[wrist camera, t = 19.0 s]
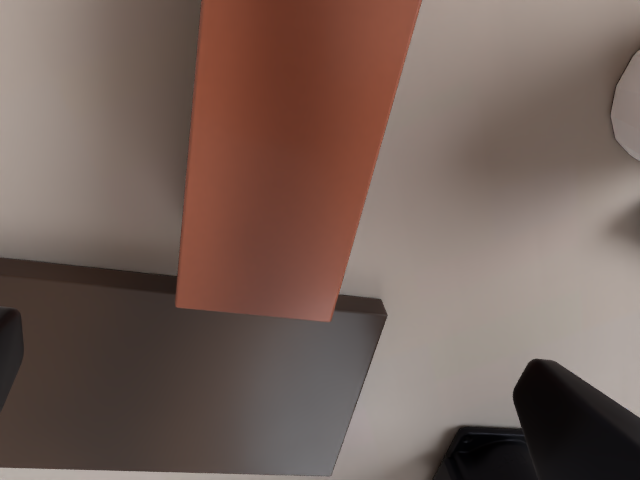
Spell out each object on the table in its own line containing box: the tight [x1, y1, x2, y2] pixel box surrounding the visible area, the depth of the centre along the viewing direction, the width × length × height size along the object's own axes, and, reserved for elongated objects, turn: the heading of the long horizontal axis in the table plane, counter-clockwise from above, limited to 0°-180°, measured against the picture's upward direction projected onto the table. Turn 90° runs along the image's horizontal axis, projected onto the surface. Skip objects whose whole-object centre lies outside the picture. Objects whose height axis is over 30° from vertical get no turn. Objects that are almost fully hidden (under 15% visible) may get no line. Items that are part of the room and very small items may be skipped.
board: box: [0, 258, 387, 476], centre depth 21 cm, size 20×11×1 cm, turn 78°
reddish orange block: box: [175, 0, 422, 322], centre depth 14 cm, size 5×11×5 cm, turn 168°
